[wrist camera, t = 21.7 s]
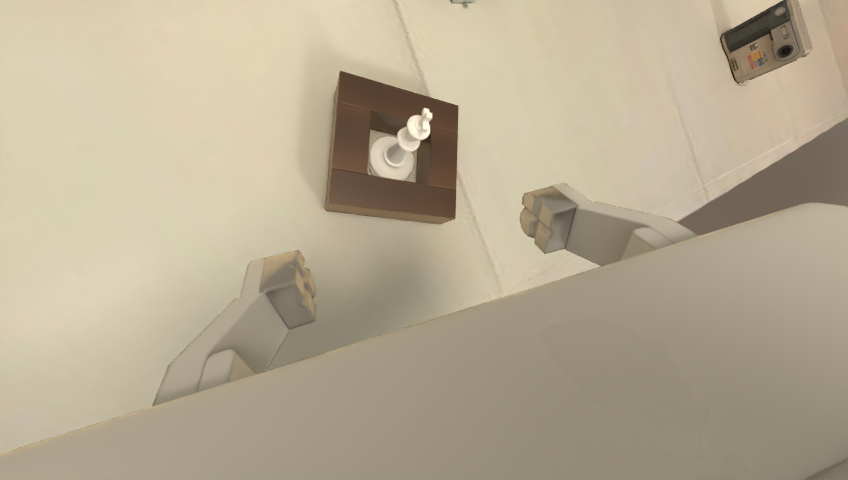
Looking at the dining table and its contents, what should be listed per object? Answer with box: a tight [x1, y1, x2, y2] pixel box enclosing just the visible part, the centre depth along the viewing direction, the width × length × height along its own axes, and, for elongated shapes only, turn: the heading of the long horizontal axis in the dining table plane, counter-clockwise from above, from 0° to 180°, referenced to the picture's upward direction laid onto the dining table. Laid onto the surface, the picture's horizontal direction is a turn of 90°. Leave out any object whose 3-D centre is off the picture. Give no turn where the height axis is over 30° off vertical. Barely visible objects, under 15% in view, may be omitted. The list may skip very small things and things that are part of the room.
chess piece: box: [368, 108, 432, 181], centre depth 27 cm, size 5×5×10 cm
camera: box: [721, 0, 813, 82], centre depth 60 cm, size 11×6×10 cm, turn 22°
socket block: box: [325, 71, 458, 224], centre depth 30 cm, size 12×12×4 cm
